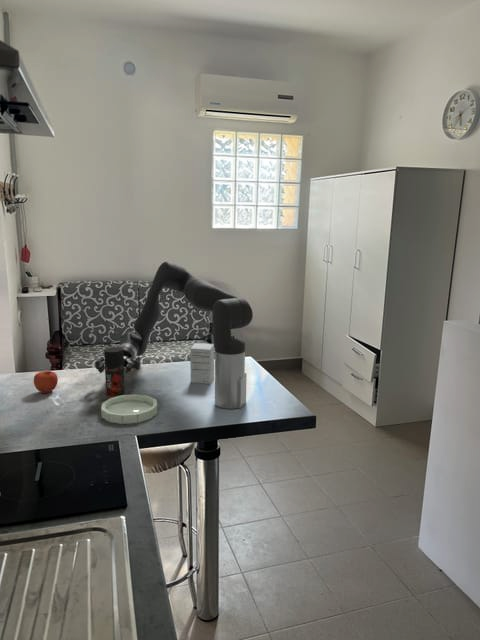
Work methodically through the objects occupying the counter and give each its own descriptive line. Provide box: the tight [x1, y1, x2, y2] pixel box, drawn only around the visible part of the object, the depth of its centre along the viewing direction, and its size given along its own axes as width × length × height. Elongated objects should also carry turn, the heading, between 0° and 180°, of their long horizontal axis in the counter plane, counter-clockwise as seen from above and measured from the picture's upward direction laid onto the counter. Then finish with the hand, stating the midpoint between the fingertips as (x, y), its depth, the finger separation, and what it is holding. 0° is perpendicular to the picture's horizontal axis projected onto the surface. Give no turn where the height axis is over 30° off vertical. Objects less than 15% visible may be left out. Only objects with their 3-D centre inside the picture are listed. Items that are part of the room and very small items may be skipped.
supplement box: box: [189, 342, 215, 385], centre depth 172 cm, size 7×7×13 cm
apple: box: [33, 368, 59, 395], centre depth 159 cm, size 7×7×8 cm
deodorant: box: [103, 346, 126, 398], centre depth 157 cm, size 6×6×15 cm
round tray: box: [100, 393, 158, 425], centre depth 144 cm, size 16×16×2 cm
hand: (113, 370), depth 156 cm, fingers open, 8 cm apart
